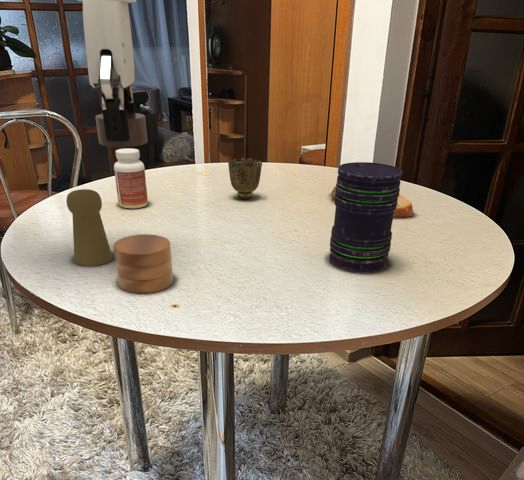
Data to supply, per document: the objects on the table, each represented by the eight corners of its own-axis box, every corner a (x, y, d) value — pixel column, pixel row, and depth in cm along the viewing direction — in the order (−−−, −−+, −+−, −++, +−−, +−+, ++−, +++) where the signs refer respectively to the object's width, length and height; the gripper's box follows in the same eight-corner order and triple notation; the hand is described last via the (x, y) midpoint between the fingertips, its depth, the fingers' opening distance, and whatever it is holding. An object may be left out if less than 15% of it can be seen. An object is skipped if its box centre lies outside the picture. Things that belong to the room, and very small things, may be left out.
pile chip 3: (114, 293, 73) (112, 280, 72) (124, 270, 80) (122, 258, 79) (170, 293, 74) (169, 280, 73) (175, 271, 80) (174, 259, 79)
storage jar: (400, 266, 84) (417, 172, 76) (354, 277, 80) (367, 180, 72) (360, 246, 91) (371, 159, 83) (316, 256, 87) (324, 165, 79)
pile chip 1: (110, 267, 71) (108, 253, 70) (120, 246, 78) (119, 233, 77) (168, 267, 72) (167, 254, 71) (173, 246, 78) (172, 234, 77)
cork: (113, 251, 87) (104, 185, 81) (111, 265, 82) (101, 195, 76) (76, 252, 86) (64, 186, 80) (71, 266, 81) (58, 196, 75)
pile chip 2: (112, 280, 72) (110, 267, 71) (122, 258, 79) (120, 246, 78) (169, 280, 73) (168, 267, 72) (174, 259, 79) (173, 246, 78)
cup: (235, 204, 112) (235, 166, 107) (223, 195, 117) (223, 158, 113) (266, 200, 114) (267, 163, 110) (253, 192, 120) (254, 156, 116)
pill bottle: (154, 205, 109) (149, 151, 103) (129, 211, 106) (122, 154, 100) (138, 199, 113) (132, 146, 107) (113, 204, 109) (105, 149, 103)
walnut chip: (94, 146, 73) (90, 119, 71) (103, 137, 78) (100, 112, 76) (144, 147, 73) (141, 119, 71) (150, 138, 79) (147, 112, 77)
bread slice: (414, 219, 105) (418, 201, 103) (327, 213, 108) (329, 195, 106) (408, 196, 120) (411, 180, 118) (332, 190, 123) (333, 174, 121)
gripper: (89, -9, 73) (107, 126, 82) (57, -18, 58) (83, 147, 68) (143, -7, 73) (154, 126, 83) (124, -16, 59) (141, 148, 68)
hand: (122, 135), depth 75 cm, fingers closed on walnut chip, 7 cm apart
